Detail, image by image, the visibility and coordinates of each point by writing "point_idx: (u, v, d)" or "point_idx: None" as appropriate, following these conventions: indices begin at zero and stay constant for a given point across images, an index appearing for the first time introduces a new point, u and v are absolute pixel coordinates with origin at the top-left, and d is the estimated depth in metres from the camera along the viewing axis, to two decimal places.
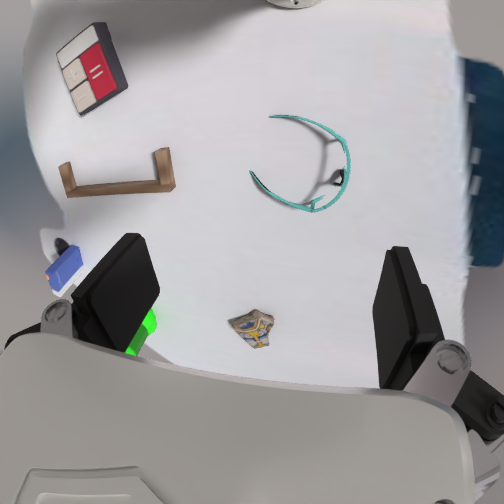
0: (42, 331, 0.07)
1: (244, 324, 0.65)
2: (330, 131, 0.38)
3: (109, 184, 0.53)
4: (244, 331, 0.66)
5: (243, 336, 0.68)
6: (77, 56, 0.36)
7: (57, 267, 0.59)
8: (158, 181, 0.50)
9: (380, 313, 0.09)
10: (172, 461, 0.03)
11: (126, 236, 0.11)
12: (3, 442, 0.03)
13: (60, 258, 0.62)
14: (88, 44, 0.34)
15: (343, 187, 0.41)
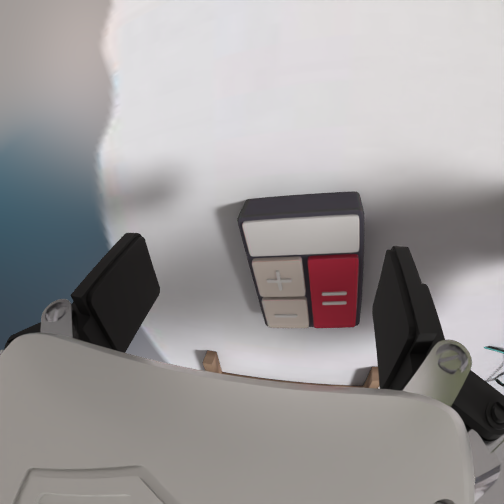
0: (42, 331, 0.07)
1: None
2: None
3: None
4: None
5: None
6: (299, 254, 0.27)
7: None
8: None
9: (380, 313, 0.09)
10: (172, 461, 0.03)
11: (126, 236, 0.11)
12: (3, 442, 0.03)
13: None
14: (336, 247, 0.25)
15: None
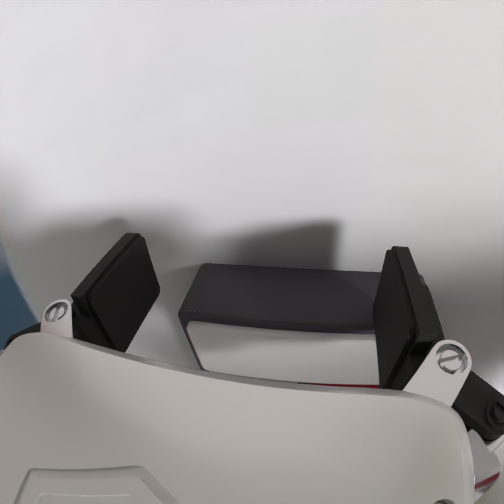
0: (42, 331, 0.07)
1: None
2: None
3: None
4: None
5: None
6: None
7: None
8: None
9: (380, 313, 0.09)
10: (172, 461, 0.03)
11: (126, 236, 0.11)
12: (3, 442, 0.03)
13: None
14: (367, 378, 0.12)
15: None
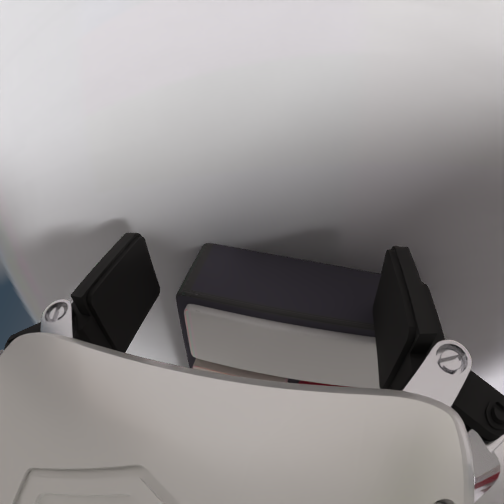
0: (42, 331, 0.07)
1: None
2: None
3: None
4: None
5: None
6: None
7: None
8: None
9: (380, 313, 0.09)
10: (172, 461, 0.03)
11: (126, 236, 0.11)
12: (3, 442, 0.03)
13: None
14: (360, 381, 0.12)
15: None
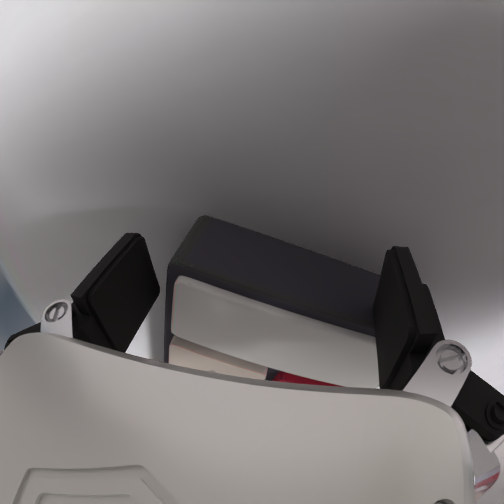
0: (42, 331, 0.07)
1: None
2: None
3: None
4: None
5: None
6: None
7: None
8: None
9: (380, 313, 0.09)
10: (172, 461, 0.03)
11: (126, 236, 0.11)
12: (3, 442, 0.03)
13: None
14: (342, 378, 0.12)
15: None
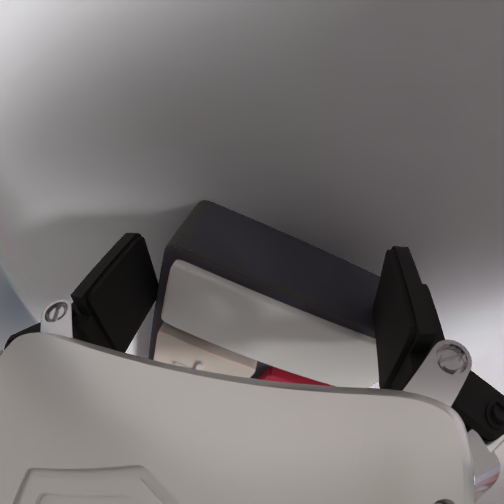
0: (42, 331, 0.07)
1: None
2: None
3: None
4: None
5: None
6: None
7: None
8: None
9: (380, 313, 0.09)
10: (172, 461, 0.03)
11: (126, 236, 0.11)
12: (3, 442, 0.03)
13: None
14: (332, 378, 0.12)
15: None
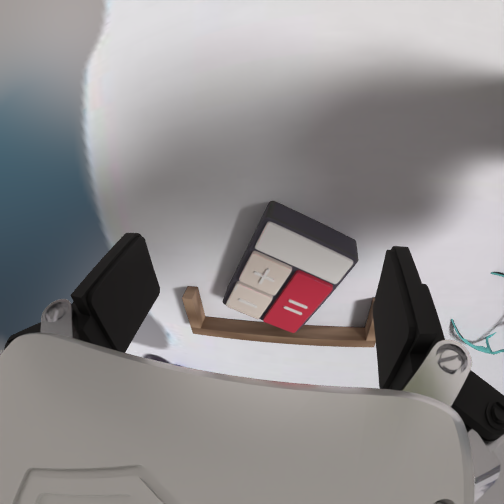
0: (42, 331, 0.07)
1: None
2: None
3: (274, 326, 0.42)
4: None
5: None
6: (293, 265, 0.32)
7: None
8: (356, 331, 0.39)
9: (380, 313, 0.09)
10: (172, 461, 0.03)
11: (126, 236, 0.11)
12: (3, 442, 0.03)
13: None
14: (323, 274, 0.32)
15: None
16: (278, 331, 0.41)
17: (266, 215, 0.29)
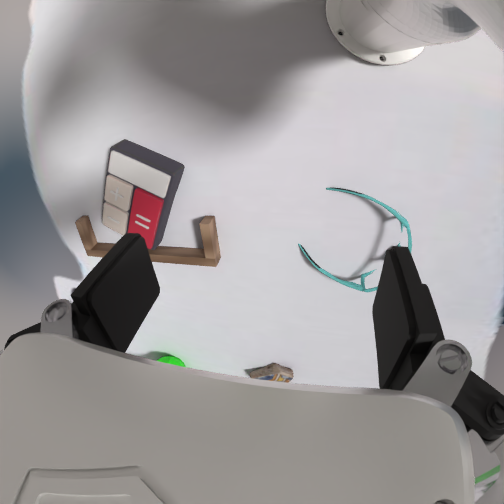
0: (42, 331, 0.07)
1: (263, 377, 0.61)
2: (394, 213, 0.34)
3: None
4: None
5: None
6: (132, 183, 0.39)
7: None
8: (200, 251, 0.47)
9: (380, 313, 0.09)
10: (172, 461, 0.03)
11: (126, 236, 0.11)
12: (3, 442, 0.03)
13: None
14: (152, 189, 0.39)
15: None
16: None
17: None
